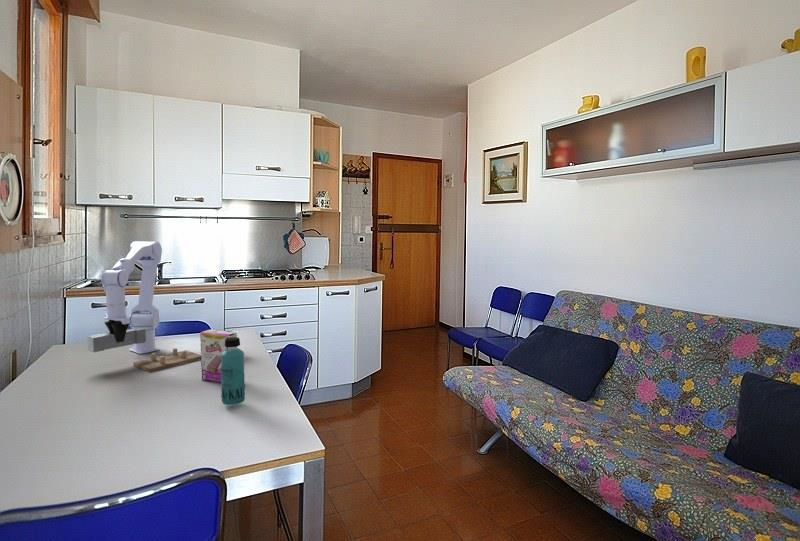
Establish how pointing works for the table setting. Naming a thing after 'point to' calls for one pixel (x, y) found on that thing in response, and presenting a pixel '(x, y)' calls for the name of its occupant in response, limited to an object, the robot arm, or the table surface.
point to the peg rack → (166, 360)
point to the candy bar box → (213, 353)
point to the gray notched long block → (109, 340)
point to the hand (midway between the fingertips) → (118, 340)
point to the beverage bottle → (232, 373)
